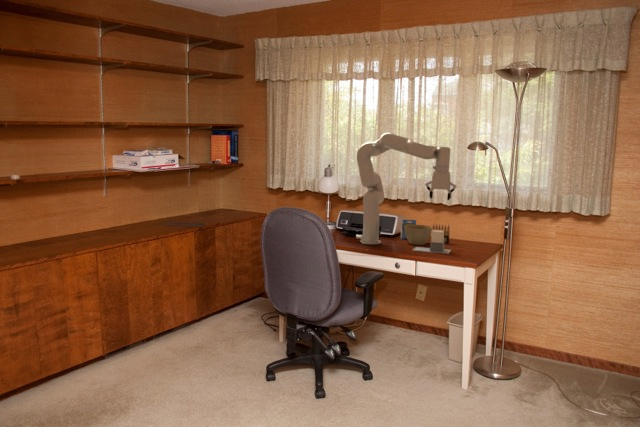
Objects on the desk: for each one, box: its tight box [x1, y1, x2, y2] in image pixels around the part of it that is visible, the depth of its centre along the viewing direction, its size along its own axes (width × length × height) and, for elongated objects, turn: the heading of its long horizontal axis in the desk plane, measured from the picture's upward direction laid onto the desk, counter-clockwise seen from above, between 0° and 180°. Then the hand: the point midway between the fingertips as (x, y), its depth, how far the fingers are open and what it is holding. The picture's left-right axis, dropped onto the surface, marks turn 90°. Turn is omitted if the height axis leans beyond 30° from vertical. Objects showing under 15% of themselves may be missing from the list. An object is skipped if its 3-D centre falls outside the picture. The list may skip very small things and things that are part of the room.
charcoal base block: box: [429, 241, 446, 253], centre depth 315 cm, size 7×7×5 cm
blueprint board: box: [411, 246, 452, 255], centre depth 316 cm, size 20×12×1 cm, turn 71°
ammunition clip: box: [431, 223, 451, 245], centre depth 343 cm, size 11×2×12 cm, turn 75°
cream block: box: [430, 229, 444, 243], centre depth 314 cm, size 6×6×6 cm
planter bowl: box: [404, 224, 433, 245], centre depth 336 cm, size 16×16×11 cm
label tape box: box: [400, 219, 417, 240], centre depth 356 cm, size 9×4×12 cm, turn 93°
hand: (439, 199), depth 320 cm, fingers open, 9 cm apart
